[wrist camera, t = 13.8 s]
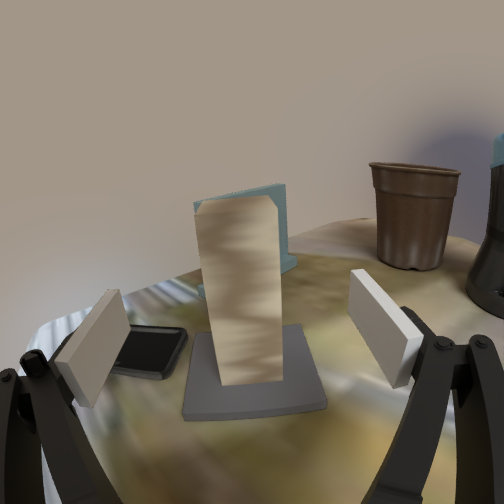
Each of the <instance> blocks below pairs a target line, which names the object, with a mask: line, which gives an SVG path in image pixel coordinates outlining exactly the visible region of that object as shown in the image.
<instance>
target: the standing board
mask: <svg viewBox="0 0 504 504" xmlns="http://www.w3.org/2000/svg"><path fill="white" fill-rule="evenodd" d="M265 195H268V196H269V197H270V198H271V200H272V201H273V202H274V204H275V205H276V207H277V208H278V227H279V249H280V274H283V273H285V272H286V271H288V270H290V269H292V268H293V267H295V266H297V257H296V256H292V255H288V235H287V212H286V190H285V184H273V185H269V186H263V187H259V188H253V189H249V190H244V191H240V192H235V193H231V194H226V195H222V196H218V197H214V198H209V199H205V200H201V201H197V202H194V211H195V213H196V211H197V210H198V208H199V206H200V205H201V203H202V202H203V201H208V200H218V199H228V198H240V197H252V196H265ZM197 287H198V293H199V296H201V297H203V298H205V299H206V295H205V289H204V283H202V284H200V285H198V286H197Z"/></svg>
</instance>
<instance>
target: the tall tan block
mask: <svg viewBox="0 0 504 504" xmlns="http://www.w3.org/2000/svg"><path fill="white" fill-rule="evenodd" d="M194 218H195V225H196V233H197V241H198V248H199V256H200V263H201V269H202V276H203V283H204V289H205V295H206V301H207V307H208V313H209V319H210V325H211V331H212V336H213V342H214V347H215V353H216V358H217V363H218V368H219V373H220V378H221V383H222V386H227V385H242V384H254V383H264V382H274V381H282V380H283V345H282V304H281V274H280V249H279V227H278V208H277V207H276V205H275V204H274V202H273V201H272V200H271V198H270V197H269V196H268V195H265V196H252V197H240V198H228V199H218V200H208V201H203V202H202V203H201V205H200V206H199V208H198V210H197V211H196V213H195V215H194Z"/></svg>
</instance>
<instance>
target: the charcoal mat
mask: <svg viewBox="0 0 504 504" xmlns="http://www.w3.org/2000/svg"><path fill="white" fill-rule="evenodd" d="M282 345H283V380H282V381H274V382H264V383H254V384H242V385H227V386H222V383H221V378H220V373H219V368H218V363H217V358H216V353H215V347H214V342H213V336H212V332H204V333H196V334H195V339H194V345H193V350H192V356H191V362H190V368H189V374H188V380H187V386H186V393H185V399H184V406H183V412H182V414H183V417H184V419H185V421H218V420H238V419H252V418H263V417H272V416H281V415H289V414H296V413H303V412H309V411H315V410H321V409H326V406H327V398H326V395H325V393H324V390H323V387H322V384H321V381H320V378H319V375H318V372H317V369H316V367H315V364H314V361H313V358H312V355H311V352H310V350H309V347H308V344H307V341H306V338H305V336H304V333H303V330H302V327H301V324H294V325H285V326H282Z"/></svg>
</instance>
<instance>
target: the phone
mask: <svg viewBox="0 0 504 504" xmlns="http://www.w3.org/2000/svg"><path fill="white" fill-rule="evenodd" d="M130 327H131V330H130V332H129V334H128V336H127V338H126V340H125V342H124V344H123V346H122V348H121V350H120V352H119V354H118V356H117V358H116V360H115V362H114V364H113V366H112V368H111V370H110V373H115V374H121V375H126V376H132V377H139V378H145V379H152V380H164V379H167V378H168V377H170V376H171V374H172V373H173V371H174V368H175V366H176V364H177V362H178V360H179V358H180V355H181V353H182V351H183V349H184V347H185V345H186V343H187V340H188V335H187V331H186V330H185V329H184V328H178V327H159V326H144V325H130ZM76 330H77V329H76ZM76 330H75V331H76ZM75 331H74V332H75ZM57 350H58V349H57ZM179 352H180V353H179ZM178 354H179V355H178ZM177 356H178V357H177ZM173 366H174V368H173Z"/></svg>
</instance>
